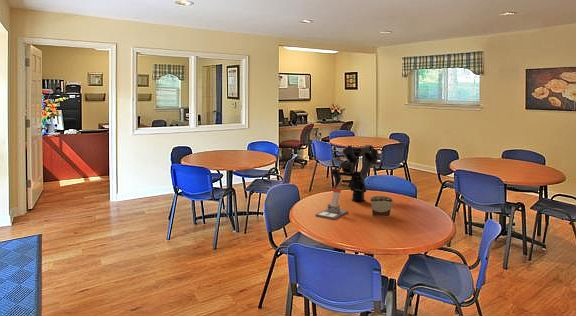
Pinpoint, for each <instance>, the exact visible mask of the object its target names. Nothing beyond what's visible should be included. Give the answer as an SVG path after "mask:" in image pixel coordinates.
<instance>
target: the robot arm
mask: <svg viewBox="0 0 576 316" xmlns="http://www.w3.org/2000/svg"><path fill="white" fill-rule="evenodd" d="M342 154H343V155H344V157H345V159H346V161H347V162H346V161H345V162H344V161H341V162H340V164H339V165H340V166H339V168H341V170H340V169H338V168H332V169H331V171H330V173H331V174H332V176H333V178H335V186H336V187H338V186H339V184H340V183H341V181H342V176H344V177H349V178H350V181H349V183H348V186H347V188H349V189H350V191H351V192H352V198H351V201H353V202H356V203H362V202H366V199H365V193H366V192H367V189H368V188H367V186H366V182H365V181H366V178H367V175H368V174H369V172H370V170H371V168H372V166H373V165H375V164H377V162H378V160H379V159H380V154H379V151H378V150H377V149H376V148H375V147H374V146H373V145H370V144H366V145H363V146H359V147H358V146H352V145H348V146H346V147H345V148H344V149H343V150H342ZM363 156H364V158H365V161H364V163H363V165H362V167H361V169H360V171H358V170H357V171H356V167H357V164H359V162H360V161H359V158H361V157H363Z"/></svg>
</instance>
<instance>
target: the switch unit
mask: <svg viewBox="0 0 576 316" xmlns="http://www.w3.org/2000/svg"><path fill="white" fill-rule="evenodd" d="M330 206H331V203H328V204H327V208H326V209H324V210H322V211H320V212H318V213H315V217H317V218H323V219H329V220H333V221H336V220H338V218H341V217H342V216H344V215H346V214H348V213H349V211H348V210H344V209H341V208H340V205H338V204H337V209H334V208H330Z"/></svg>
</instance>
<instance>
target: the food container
mask: <svg viewBox="0 0 576 316" xmlns="http://www.w3.org/2000/svg"><path fill="white" fill-rule="evenodd" d="M369 202H371V204H370V205H371V215H372V217H390V216H391V211H392V210H391V209H392V203H394V201H393V198H392V197H390V196H384V195H383V196H382V195H375V196H372V197H370V200H369Z"/></svg>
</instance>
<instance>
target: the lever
mask: <svg viewBox="0 0 576 316" xmlns="http://www.w3.org/2000/svg"><path fill="white" fill-rule="evenodd" d="M341 191H342V189H340V188H334V187H333V189H332V198H331V202H330V208H334V209H337V206H338V203H339V198H340V194H341Z"/></svg>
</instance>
